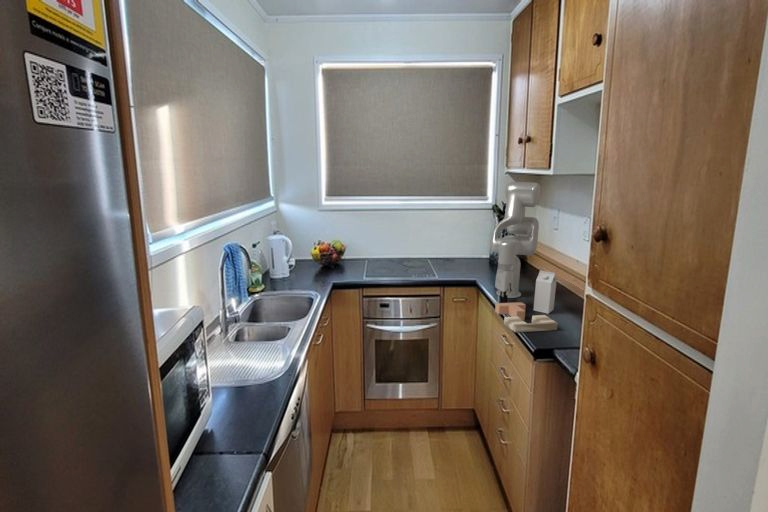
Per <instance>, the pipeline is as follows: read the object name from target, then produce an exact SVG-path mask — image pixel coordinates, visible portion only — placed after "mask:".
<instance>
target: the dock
mask: <svg viewBox="0 0 768 512" xmlns="http://www.w3.org/2000/svg"><path fill="white" fill-rule="evenodd" d="M503 319H504V320H503V324H504V326H506V327H507V328H508V329H510V330H511V331H513V332H514V333H528V332H544V331H545V332H546V331H557V330H558V324H559V323H558V321H557V322H556V321H555V320H554V319H552V318H550V317H549V316H547V315H545V314H539V315H538V314H537V315H536V314H535V315H532V317H531V322H529V323H527V322H525V320H522V319H520V318H519V317H518V316H516V317H511V316H504V318H503Z"/></svg>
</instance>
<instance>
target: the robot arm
mask: <svg viewBox="0 0 768 512" xmlns="http://www.w3.org/2000/svg"><path fill="white" fill-rule="evenodd" d="M504 192H505V198H506V203H505V204H506V205H505V213H504V217H503V219H502V220H500V221H499V222H498V223H497V224H496V226H495V227H494V228H493V232H492V236H491V243H490V248H491V251H492V252H493V253H496V254H498V257H497V258H498V260H497V270H496V274H495V281H494V282H495V283H494V287H495V288H496V289H497V290H496V292H495V294H496V295H497V296H499V299H498V301H499V302H498V303H508V299H515V298H520V297H521V296H522V293H521V292H520V291H519V287H520V284H519V283H520V277H521V276H520V275H521V274H520V273H521V260H520V258H519V257H518V256H517V255H519V256H522V255H523V256H534V255H535V254H536V252H537V249H538V240H539V239H538V238H539V230H540V228H539V227H540V222H539V220H538V219H537V218H536V217H533V216H526V209H527V208H535V207H536V206H537V204H538V202H539V199H540V195H541V185H540V184H539V183H538V182H531V181H528V182H527V181H511V182H508V183H507V184H506V185H505V190H504ZM504 229H506V232H507V233H508V234H511V235H505V236H504V237H500V236H499V235H500V233H502V231H503V230H504Z"/></svg>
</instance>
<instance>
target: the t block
mask: <svg viewBox="0 0 768 512" xmlns="http://www.w3.org/2000/svg"><path fill="white" fill-rule="evenodd" d="M526 306H527V304H525V303H524V302H523V301H522V302H521V301H520V302H518V301H517V302H507V303H499V302H497V303H495V309H494V311H495V313H496V314H498V315H509V317H516V316H518V317H519V318H520V319H522V320H523V321H525V320H526V319H525V317H526Z"/></svg>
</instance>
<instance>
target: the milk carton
mask: <svg viewBox="0 0 768 512" xmlns="http://www.w3.org/2000/svg"><path fill="white" fill-rule="evenodd" d="M557 281H558V280H557V277H556V272H551V271H547V270H541V269H540V270H539V272H538V275H537V278H536V280H535V290H534V300H533V311H535V312H539V313H542V314H543V313H544V314H551V312H553V311H554V307H555V298H556V289H557Z"/></svg>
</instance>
